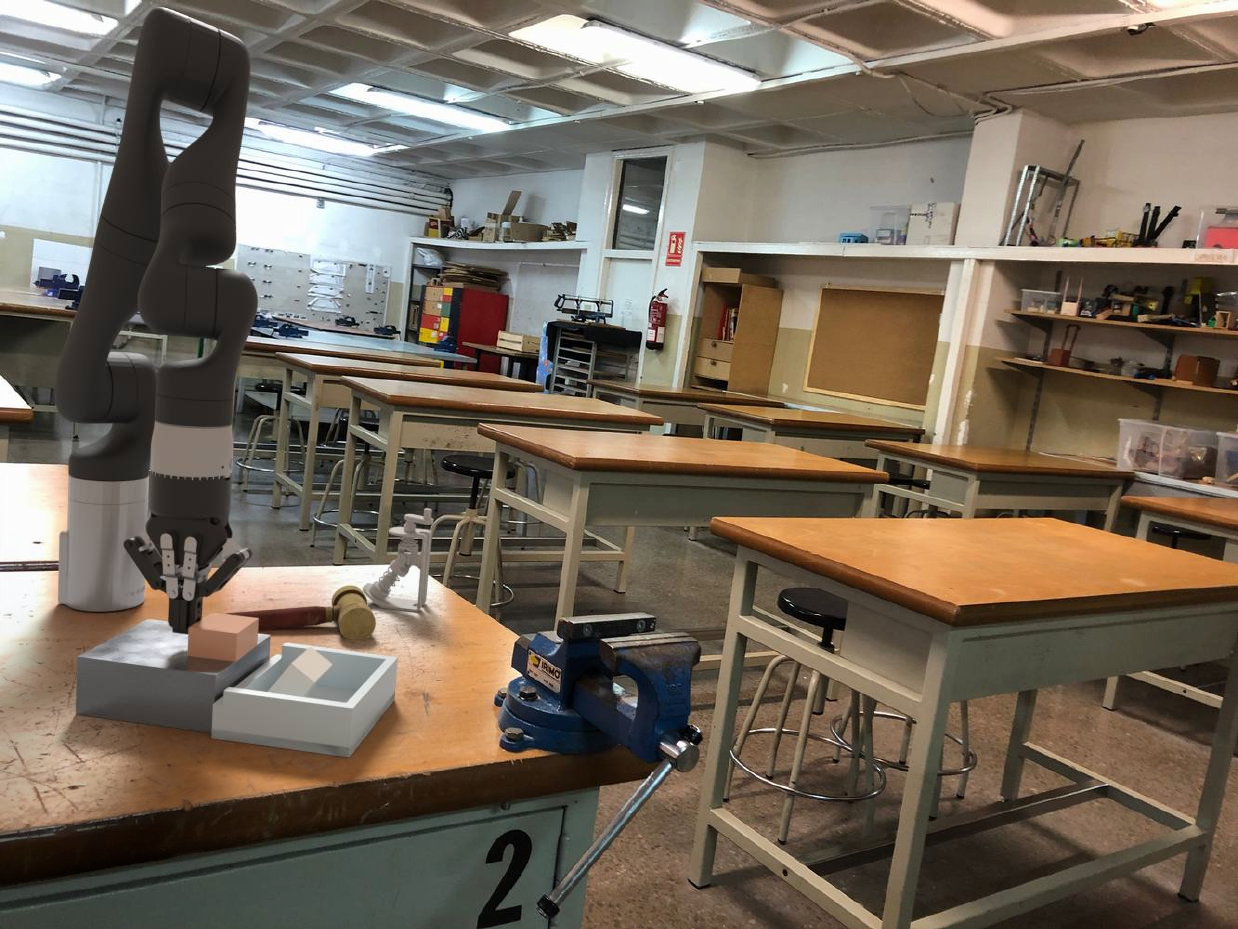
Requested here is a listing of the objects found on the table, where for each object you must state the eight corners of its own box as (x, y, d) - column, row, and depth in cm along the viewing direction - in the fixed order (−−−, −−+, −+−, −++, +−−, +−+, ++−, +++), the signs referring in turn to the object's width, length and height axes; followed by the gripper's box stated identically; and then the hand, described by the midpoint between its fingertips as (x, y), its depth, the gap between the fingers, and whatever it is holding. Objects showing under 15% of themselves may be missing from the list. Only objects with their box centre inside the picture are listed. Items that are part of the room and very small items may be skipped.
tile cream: (291, 663, 92) (314, 682, 92) (310, 646, 97) (332, 664, 97) (261, 698, 92) (284, 717, 93) (282, 680, 97) (304, 698, 97)
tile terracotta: (187, 655, 93) (188, 627, 92) (211, 639, 98) (212, 612, 97) (235, 661, 92) (237, 633, 92) (257, 645, 97) (258, 618, 97)
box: (211, 738, 89) (213, 689, 88) (274, 683, 103) (277, 641, 102) (349, 757, 88) (352, 708, 87) (394, 700, 102) (397, 657, 101)
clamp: (367, 596, 136) (374, 498, 134) (430, 604, 136) (439, 505, 134) (358, 605, 132) (365, 503, 130) (424, 612, 132) (432, 511, 130)
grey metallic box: (75, 714, 90) (77, 656, 90) (146, 670, 102) (148, 618, 101) (212, 733, 90) (215, 675, 89) (267, 686, 102) (270, 635, 101)
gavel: (199, 621, 111) (200, 595, 120) (200, 657, 112) (201, 629, 121) (376, 606, 119) (365, 583, 128) (376, 640, 120) (365, 615, 129)
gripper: (105, 464, 89) (100, 634, 91) (237, 480, 88) (228, 652, 91) (150, 454, 96) (144, 612, 99) (272, 469, 95) (263, 628, 98)
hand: (184, 631), depth 95 cm, fingers closed
